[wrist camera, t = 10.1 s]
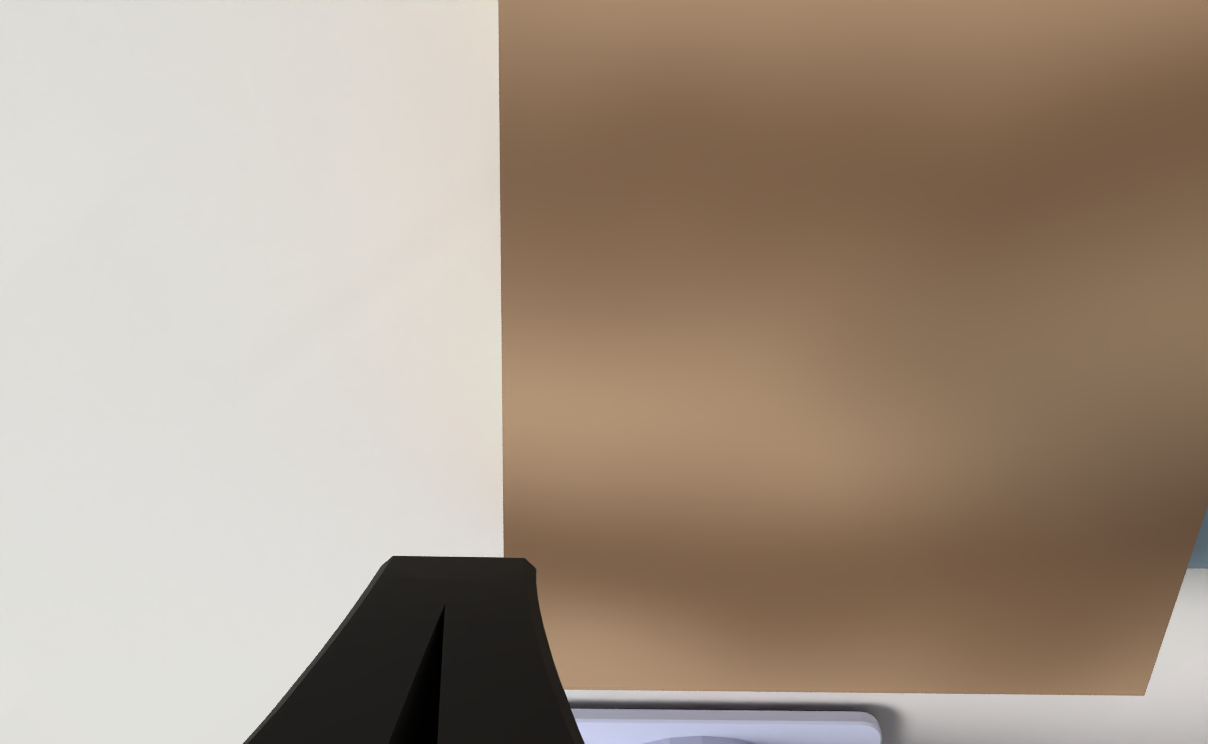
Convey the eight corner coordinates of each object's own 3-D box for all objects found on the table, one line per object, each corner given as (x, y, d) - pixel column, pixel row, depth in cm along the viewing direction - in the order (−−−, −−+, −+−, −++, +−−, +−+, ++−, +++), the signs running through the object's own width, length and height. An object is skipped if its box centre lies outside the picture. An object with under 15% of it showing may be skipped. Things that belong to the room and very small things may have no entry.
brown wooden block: (1051, 557, 22) (1143, 695, 18) (517, 549, 22) (505, 689, 18) (1348, -563, 14) (1613, -706, 10) (513, -607, 14) (491, -769, 10)
